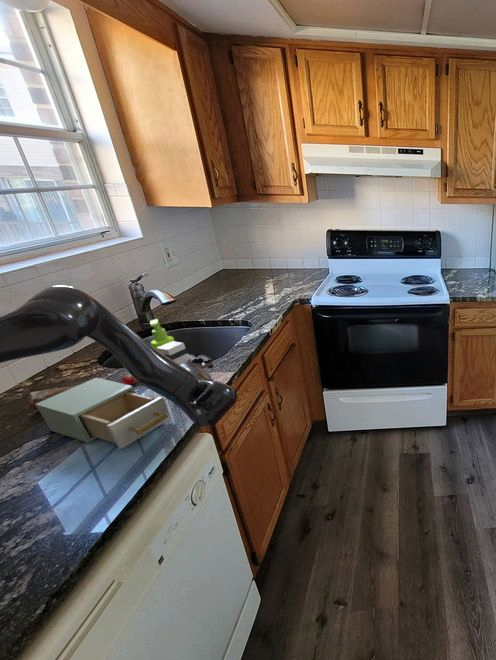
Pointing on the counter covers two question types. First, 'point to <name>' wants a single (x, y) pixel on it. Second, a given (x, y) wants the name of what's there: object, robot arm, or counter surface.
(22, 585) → the counter surface
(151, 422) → the drawer
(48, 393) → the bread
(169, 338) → the soap dispenser
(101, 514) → the counter surface
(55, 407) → the cabinet
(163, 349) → the white tall square block
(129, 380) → the candy bar
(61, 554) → the counter surface
